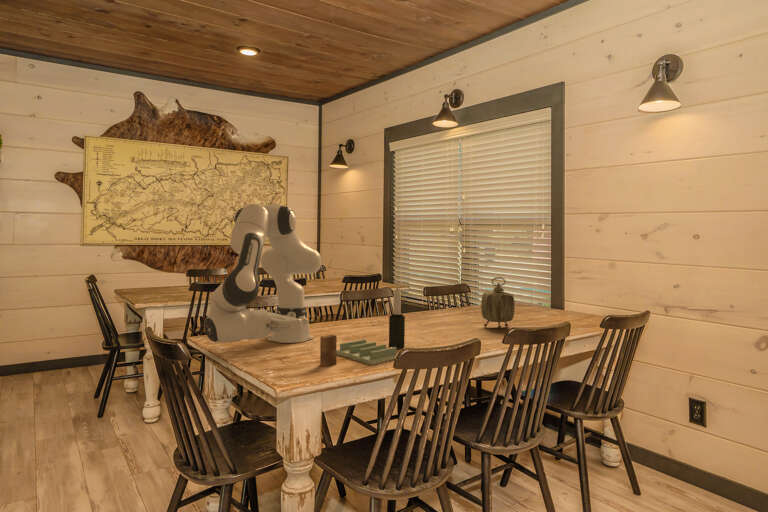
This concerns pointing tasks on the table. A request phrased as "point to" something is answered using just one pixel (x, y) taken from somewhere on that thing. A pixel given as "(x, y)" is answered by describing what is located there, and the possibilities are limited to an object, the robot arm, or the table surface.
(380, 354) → the rack
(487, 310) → the tabletop clock
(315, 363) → the table surface
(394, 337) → the candle
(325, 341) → the block
